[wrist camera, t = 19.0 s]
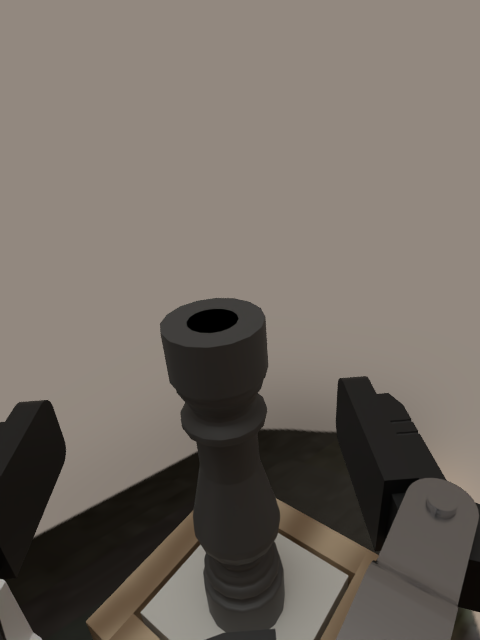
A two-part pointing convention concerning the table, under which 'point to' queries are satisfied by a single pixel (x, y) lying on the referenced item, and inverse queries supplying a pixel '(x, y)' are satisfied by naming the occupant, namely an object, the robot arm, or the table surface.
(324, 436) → the table surface
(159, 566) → the stand
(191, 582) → the platform
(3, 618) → the cylinder with rectangular tab
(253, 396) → the candle holder
